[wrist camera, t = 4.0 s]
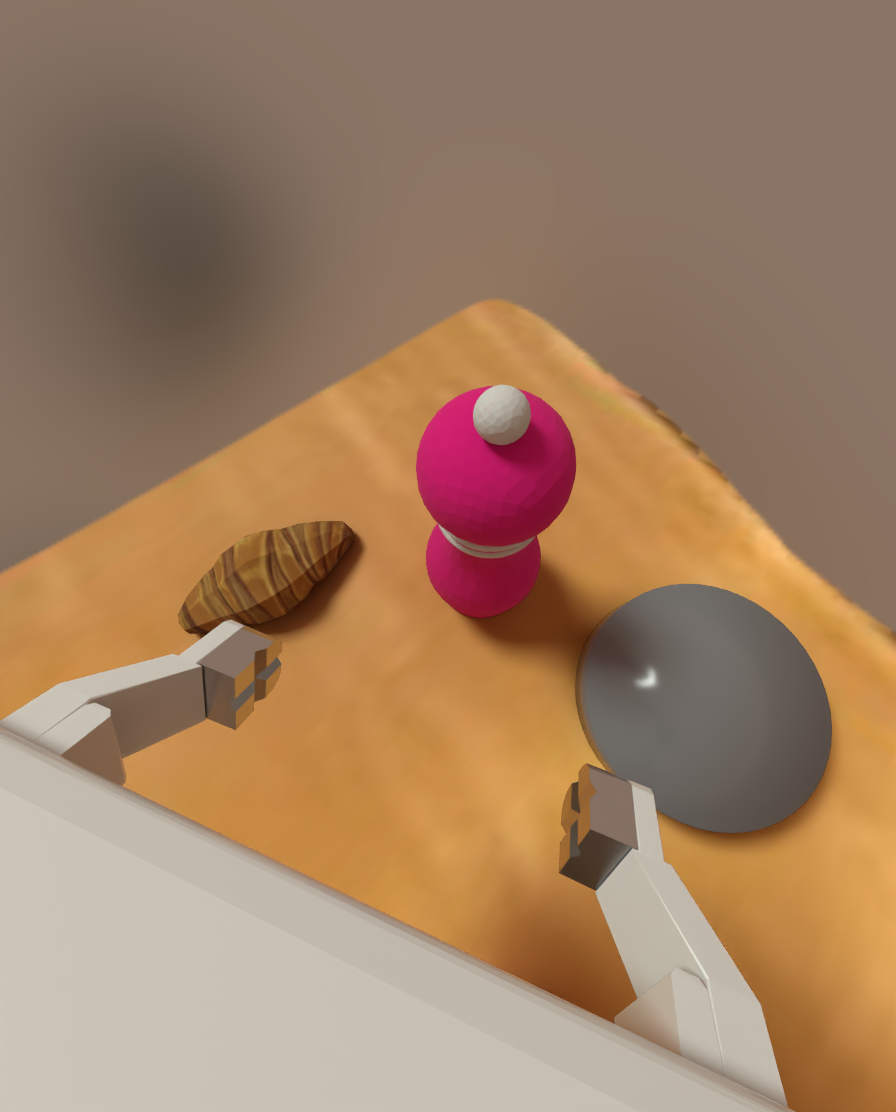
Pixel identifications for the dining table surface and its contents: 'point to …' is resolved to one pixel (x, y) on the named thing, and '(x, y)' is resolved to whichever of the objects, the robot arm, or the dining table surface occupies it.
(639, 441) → the dining table surface
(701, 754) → the smooth gray stone
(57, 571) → the dining table surface
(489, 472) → the pepper mill
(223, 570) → the croissant
